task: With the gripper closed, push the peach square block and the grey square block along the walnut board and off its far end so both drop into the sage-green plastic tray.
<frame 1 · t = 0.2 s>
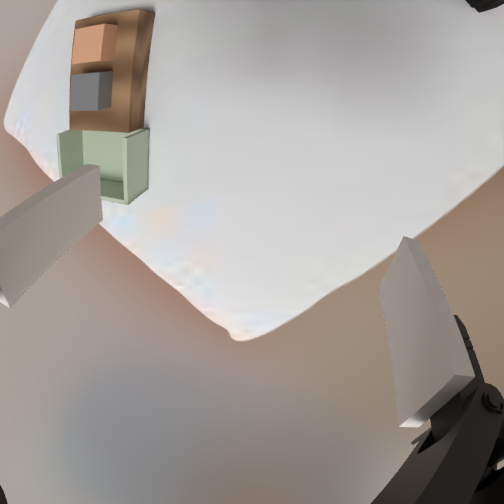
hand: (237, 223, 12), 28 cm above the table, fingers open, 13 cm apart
peach square block: (101, 44, 28), point 4 cm above the table, touching walnut board
tray: (112, 156, 41), on the table
walnut board: (115, 70, 34), on the table
grey square block: (97, 89, 32), point 4 cm above the table, touching walnut board
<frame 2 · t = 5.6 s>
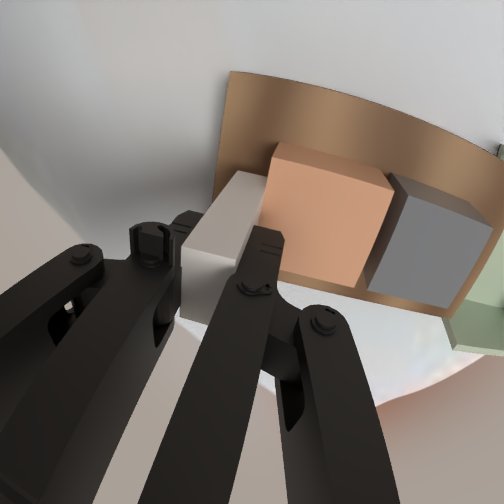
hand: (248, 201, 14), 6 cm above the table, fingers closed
peach square block: (318, 200, 15), point 4 cm above the table, touching gripper
walnut board: (364, 189, 18), on the table
grey square block: (416, 228, 14), point 4 cm above the table, touching walnut board
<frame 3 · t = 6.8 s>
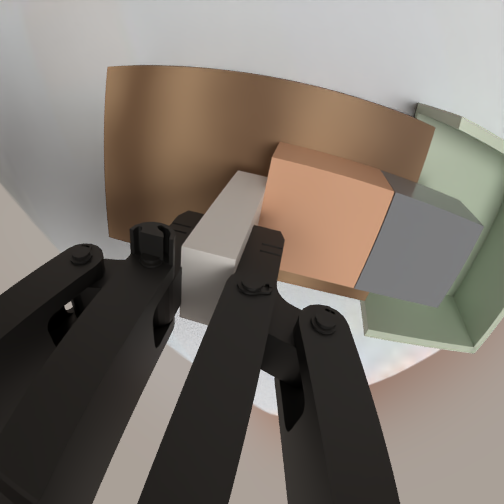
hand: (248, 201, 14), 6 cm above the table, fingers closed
peach square block: (318, 200, 15), point 4 cm above the table, touching gripper, grey square block
tray: (447, 217, 18), on the table
walnut board: (257, 162, 18), on the table
grey square block: (405, 227, 15), point 4 cm above the table, touching peach square block, walnut board
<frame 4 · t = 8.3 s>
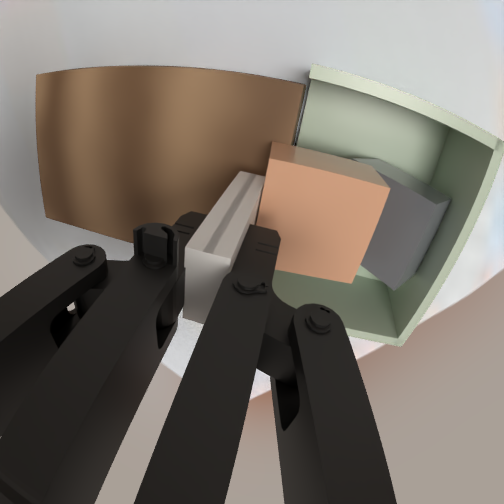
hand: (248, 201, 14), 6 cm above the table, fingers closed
peach square block: (311, 199, 15), point 4 cm above the table, tilted 6°, touching gripper, grey square block, walnut board
tray: (364, 191, 18), on the table
walnut board: (162, 145, 19), on the table
grey square block: (375, 224, 14), point 4 cm above the table, tilted 139°, touching peach square block, tray
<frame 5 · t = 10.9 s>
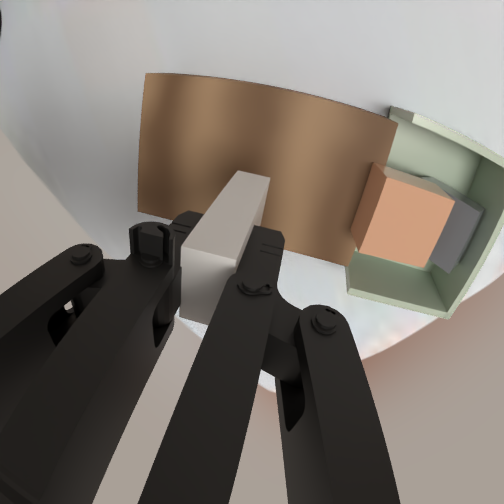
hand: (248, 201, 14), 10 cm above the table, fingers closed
peach square block: (394, 206, 19), point 4 cm above the table, tilted 6°, touching grey square block, walnut board
tray: (420, 200, 22), on the table
walnut board: (261, 153, 23), on the table
grey square block: (436, 225, 18), point 4 cm above the table, tilted 139°, touching peach square block, tray
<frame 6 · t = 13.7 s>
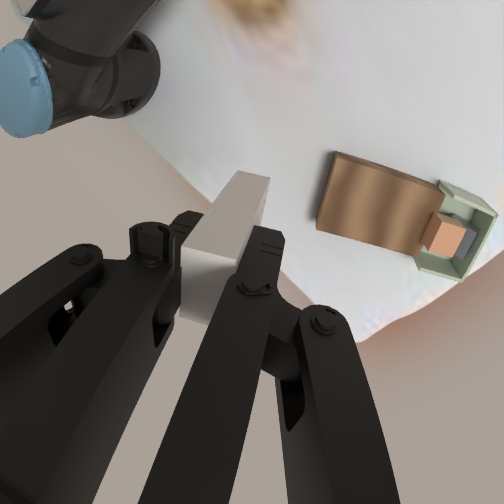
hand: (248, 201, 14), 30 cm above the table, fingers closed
peach square block: (439, 229, 39), point 4 cm above the table, tilted 6°, touching grey square block, walnut board
tray: (447, 224, 42), on the table
walnut board: (377, 200, 43), on the table
grey square block: (457, 238, 38), point 4 cm above the table, tilted 139°, touching peach square block, tray
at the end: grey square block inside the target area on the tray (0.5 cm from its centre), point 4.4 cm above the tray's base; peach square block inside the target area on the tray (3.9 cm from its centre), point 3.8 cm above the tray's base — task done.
